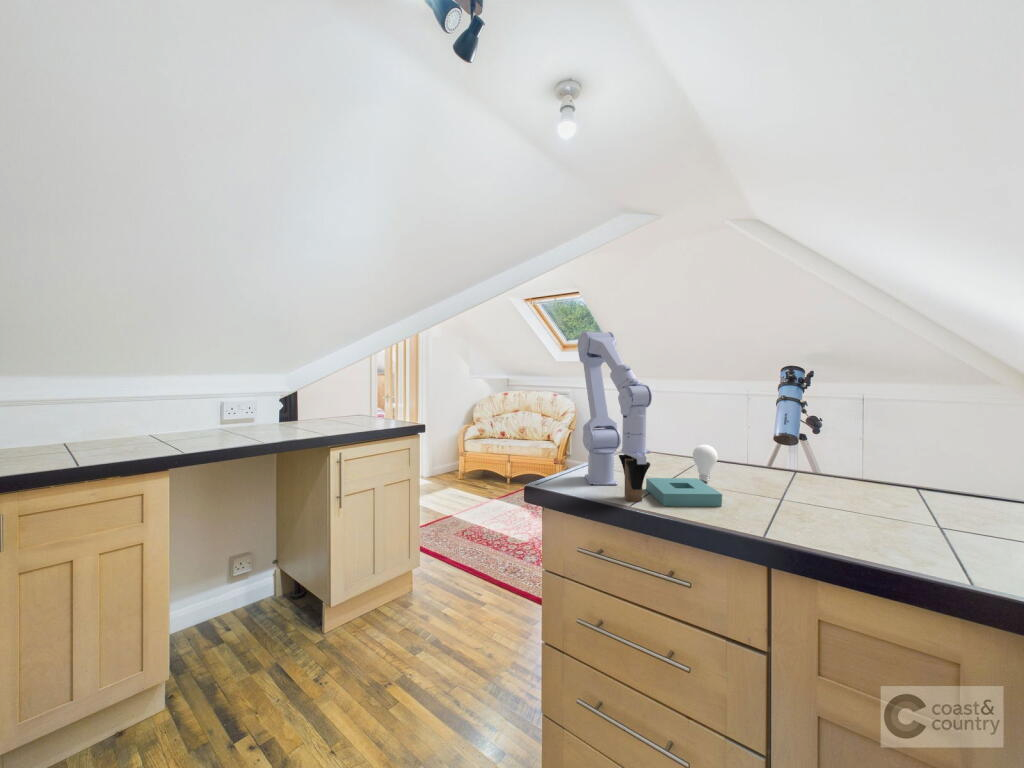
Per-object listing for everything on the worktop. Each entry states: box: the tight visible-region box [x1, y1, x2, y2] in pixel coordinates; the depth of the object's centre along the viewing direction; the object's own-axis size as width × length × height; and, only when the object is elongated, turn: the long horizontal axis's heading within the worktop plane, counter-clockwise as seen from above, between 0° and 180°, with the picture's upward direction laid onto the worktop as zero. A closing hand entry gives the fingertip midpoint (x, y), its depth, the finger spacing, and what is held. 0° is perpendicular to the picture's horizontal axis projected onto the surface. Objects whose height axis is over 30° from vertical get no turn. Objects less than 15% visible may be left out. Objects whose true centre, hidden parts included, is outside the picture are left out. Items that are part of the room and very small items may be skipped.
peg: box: [623, 459, 643, 502], centre depth 107 cm, size 4×4×10 cm
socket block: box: [645, 477, 723, 507], centre depth 109 cm, size 14×14×3 cm
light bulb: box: [692, 444, 719, 483], centre depth 122 cm, size 7×7×11 cm
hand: (633, 485), depth 107 cm, fingers open, 5 cm apart
